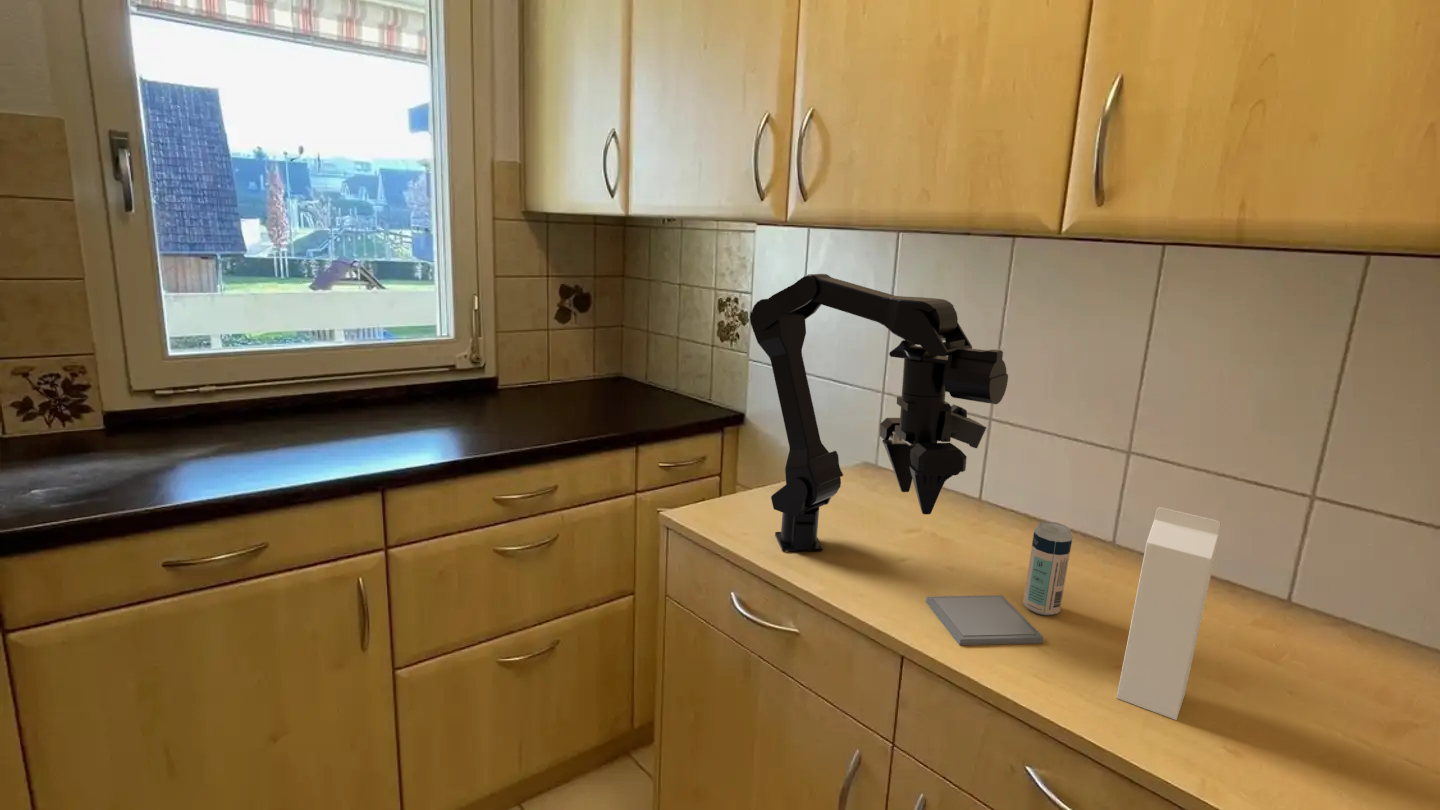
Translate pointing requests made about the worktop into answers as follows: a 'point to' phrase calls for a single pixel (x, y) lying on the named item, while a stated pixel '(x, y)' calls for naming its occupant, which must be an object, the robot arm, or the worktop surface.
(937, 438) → the robot arm
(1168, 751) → the worktop surface
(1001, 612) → the trivet
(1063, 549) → the beer can
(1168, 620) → the milk
